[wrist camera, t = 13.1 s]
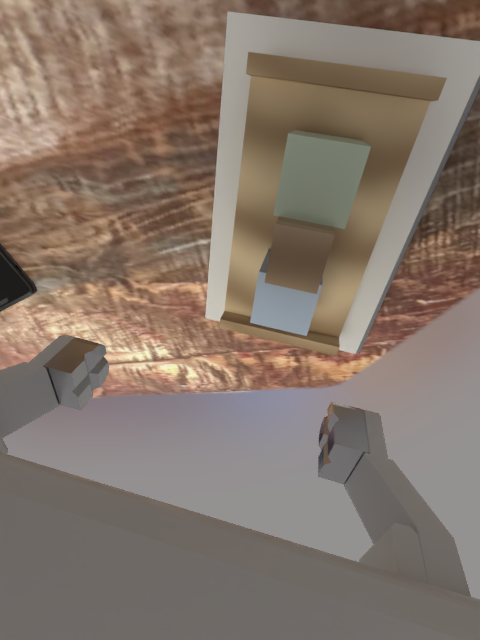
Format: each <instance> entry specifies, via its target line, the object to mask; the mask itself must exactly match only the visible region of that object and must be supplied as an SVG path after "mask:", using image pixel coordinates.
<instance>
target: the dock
mask: <svg viewBox="0 0 480 640" xmlns="http://www.w3.org/2000/svg"><path fill="white" fill-rule="evenodd" d="M248 52H254V53H261V54H269V55H277V56H284V57H292V58H299V59H307V60H315V61H322V62H330V63H337V64H345V65H352V66H360V67H368V68H375V69H383V70H390V71H398V72H406V73H413V74H421V75H428V76H436V77H444V78H447V79H446V82H445V84H444V87H443V89H442V92H441V94H440V97H439V99H438V101H431V102H430V105H429V107H428V110H427V112H426V115H425V118H424V120H423V123H422V125H421V128H420V130H419V133H418V136H417V138H416V141H415V143H414V146H413V148H412V151H411V154H410V156H409V159H408V161H407V164H406V166H405V169H404V172H403V174H402V177H401V179H400V182H399V185H398V187H397V190H396V192H395V195H394V197H393V200H392V203H391V205H390V208H389V210H388V213H387V215H386V218H385V221H384V223H383V226H382V228H381V231H380V233H379V236H378V239H377V241H376V244H375V246H374V249H373V252H372V254H371V257H370V259H369V262H368V264H367V267H366V270H365V272H364V275H363V277H362V280H361V282H360V285H359V288H358V290H357V293H356V295H355V298H354V300H353V303H352V306H351V308H350V311H349V313H348V316H347V319H346V321H345V324H344V326H343V329H342V331H341V334H340V337H339V345H340V348H339V350H341V351H346V352H350V353H354V354H356V353H359V354H360V351H361V349H362V347H363V345H364V343H365V340H366V338H367V336H368V334H369V331H370V329H371V327H372V325H373V323H374V320H375V318H376V316H377V314H378V312H379V309H380V307H381V305H382V303H383V301H384V298H385V296H386V294H387V292H388V290H389V287H390V285H391V283H392V281H393V279H394V276H395V274H396V272H397V270H398V268H399V265H400V263H401V261H402V259H403V257H404V254H405V252H406V250H407V248H408V246H409V243H410V241H411V239H412V237H413V235H414V232H415V230H416V228H417V226H418V224H419V221H420V219H421V217H422V215H423V213H424V210H425V208H426V206H427V204H428V201H429V199H430V197H431V195H432V193H433V190H434V188H435V186H436V184H437V182H438V179H439V177H440V175H441V173H442V171H443V168H444V166H445V164H446V162H447V160H448V157H449V155H450V153H451V151H452V149H453V146H454V144H455V142H456V140H457V138H458V135H459V133H460V131H461V129H462V127H463V124H464V122H465V120H466V118H467V116H468V113H469V111H470V109H471V107H472V105H473V102H474V100H475V98H476V96H477V94H478V91H479V89H480V41H473V40H465V39H456V38H448V37H439V36H431V35H423V34H414V33H406V32H397V31H389V30H380V29H372V28H363V27H355V26H346V25H338V24H330V23H321V22H313V21H304V20H296V19H287V18H279V17H270V16H262V15H253V14H245V13H237V12H228V14H227V28H226V42H225V55H224V69H223V83H222V97H221V110H220V124H219V138H218V152H217V165H216V179H215V193H214V206H213V220H212V234H211V248H210V261H209V275H208V289H207V303H206V316H205V318H207V319H211V320H216V321H220V318H221V316H222V314H223V313H224V310H225V301H226V292H227V283H228V275H229V266H230V257H231V248H232V239H233V230H234V221H235V212H236V204H237V195H238V186H239V177H240V168H241V159H242V150H243V141H244V133H245V124H246V115H247V106H248V97H249V88H250V79H251V76H250V75H248V74H246V68H247V59H248Z"/></svg>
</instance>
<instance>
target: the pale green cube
mask: <svg viewBox="0 0 480 640" xmlns="http://www.w3.org/2000/svg"><path fill="white" fill-rule="evenodd" d="M370 149H371V146H369V145H368V144H367V143H366V142H365V141H363V140H357V139H351V138H344V137H338V136H332V135H325V134H319V133H313V132H306V131H300V130H294V131H292V132H290V133H288V137H287V142H286V148H285V154H284V159H283V165H282V170H281V176H280V181H279V187H278V192H277V198H276V203H275V209H274V214H273V215H274V216H279V217H284V218H289V219H295V220H300V221H305V222H310V223H316V224H321V225H326V226H331V227H336V228H342V229H345V227H346V224H347V221H348V218H349V215H350V211H351V208H352V205H353V202H354V199H355V196H356V193H357V189H358V186H359V183H360V180H361V177H362V174H363V171H364V167H365V164H366V161H367V158H368V155H369V152H370Z"/></svg>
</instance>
